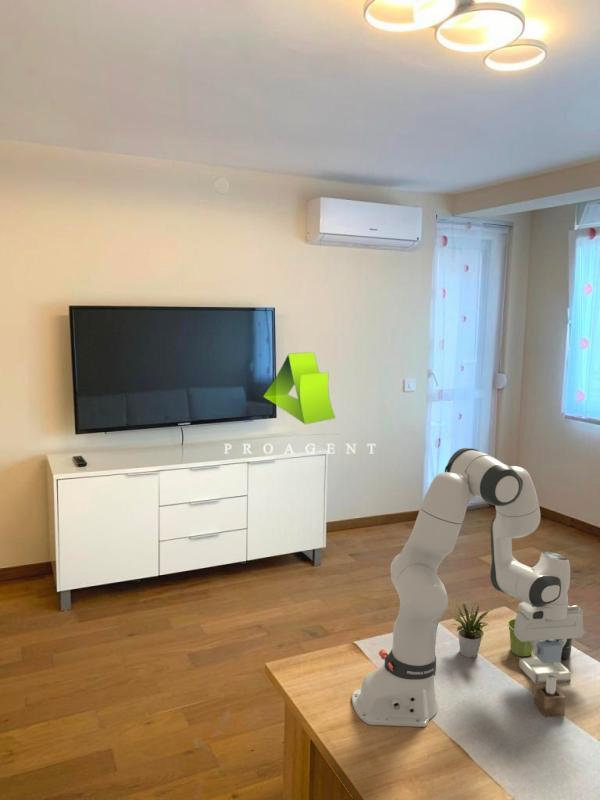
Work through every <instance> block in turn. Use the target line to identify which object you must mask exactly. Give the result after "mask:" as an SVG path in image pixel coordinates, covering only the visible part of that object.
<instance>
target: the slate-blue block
mask: <svg viewBox="0 0 600 800" xmlns="http://www.w3.org/2000/svg"><path fill="white" fill-rule="evenodd" d="M536 646H538V647H539V648H540V654H534V653H533V652H532V655H534V657H537V658H538V659H539V660H540V661H541V662H542V663H554V662H560V663H561V662H562V661H561V653H562V645H561V644H560V643H559V642H557V641H556V640H542V641H538V644H536Z"/></svg>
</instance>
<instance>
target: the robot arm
mask: <svg viewBox="0 0 600 800" xmlns="http://www.w3.org/2000/svg"><path fill="white" fill-rule="evenodd" d="M474 498H477V499H480V500H482V501H484V502H486V503H487V504H489V505H493V506H495V515H494V516H493V518H492V520H491V523H490V532H489V533H490V534H489V535H490V551H491V567H490V573H489V578H490V581H491V585H492V587H493V588H494V589H495V590H497V591H498V592H501V593H504V594H507V595H509V596H511V597H514V598H515V599H516V600H519V601H521V602H520V603H518V605H517V609H518V611H519V612H518V613H516V616H515V618H514V619H515V625H514V635H515V636H516V637H517V639H519V640H520V641H521V642H529V641H530V643H531V644H532V646H533V648H532V654H533V653H534V654H540V648H539V647H538V646H536V644H538V641H542V640H556V639H559V641H558V642H559V643H560V644H561V645H562V647H563V646H564V645H565V643H566V642H567V639H569V638H572V639H579V638H582V636H583V635H584V621H583V620H584V619H583V618H584V610H583V608H582V607H580V606H579V605H569V597H568V592H569V589H570V586H571V585H570V583H571V565H570V560H569V559H568V558H567V556H564V555H562V554H560V553H557V552H553V551H542V552H541V554H540V556H539V560H538V562H537V563H536V564H535V565H534V566H532V567H531V566H529V565H526V564H524V563H522V562H520V561H519V560H517V559H516V558H515V557H514V555H513V541H512V539H520V538H525V537H527V536H529V535H530V534H533V533H534V532H535V531H536V530H537V529H538V527H539V526H540V523H541V517H542V516H541V510H540V509H541V508H540V503H539V500H538V494H537V491H536V487H535V484H534V482H533V480H532V477H531V475H530V473H529V472H528V470H526V469H525V468H523V467H521V466H517V465H508V464H505V463H504V462H502V461H501V460H498V459H497V458H496V457H494V456H493V455H490V454H488V453H485V452H482V451H480V450H478V449H476V448H471V447H463V448H460V449H457V450H456V451H455V452H454V453H453V454H452V456H451V457H450V458H449V459H448V462H447V465H446V466H445V468H444V472H440V473H437V474H436V475H435V477H434V478H433V480H432V482H431V483H430V485H429V487H428V489H427V490H426V492H425V495H424V497H423V500H422V502H421V505H420V508H419V511H418V514H417V516H416V520H415V522H414V525H413V528H412V531H411V533H410V536H409V537H408V539H407V542H406V543H405V545H404V546H403V548H402V550H401V552H400V553H398V554H397V555H395V557H394V558H393V559H392V561H391V563H390V580H391V583H392V584H393V586H394V588H395V590H396V592H397V594H398V597H399V610H398V615H397V618H396V620H394V623H393V630H392V648H391V650H390V652H389V653H387V651H386V649H380V650H379V652H378V655H379V656H380V659H381V660H384V663H383V664H381V665H380V666H379V667H378V668H375V669H374V670H373V671H371V672H369V673H368V674H366V675H365V676H364V677H363V680H362V684H361V687H360V688H358V689H355V690H353V692H352V695H351V702H352V706H353V709H354V711H355V714H357V716H358V717H359V718H360V720H361V721H362V722H364V723H365V724H367V725H370V726H371V725H372V726H388V727H389V726H394V727H415V728H416V727H417V728H418V727H420V728H422V727H423V728H424V727H426V726H428V723H429V721H430V719H432V718H433V717H434V716H435V715H436V714H437V713H438V709H439V705H438V702H437V701H438V700H437V698H436V690H435V687H436V686H435V676H436V672H437V657H436V656H437V655H436V645H437V630H438V627H439V623H440V620H441V617H443V616H444V615H445V613H446V611H447V610H448V605H449V597H448V593H447V590H446V587H445V585H444V583H443V582H442V579H440V577H439V576H438V569H439V567H440V564H441V563H442V562H443V560H444V558H445V557H446V556H447V555H449V554H451V553H452V552H453V551H454V548H455V546H456V543H457V540H458V537H459V534H460V531H461V529H462V525H463V522H464V520H465V515H466V514H467V513H466V512H467V509H468V506H469V504H470V503H471V501H472V500H473V499H474ZM534 654H533V655H534Z"/></svg>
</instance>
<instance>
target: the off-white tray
mask: <svg viewBox="0 0 600 800" xmlns="http://www.w3.org/2000/svg"><path fill="white" fill-rule="evenodd" d="M518 660H519V662H518V667H519V668H520V669H521V671H523V672H524V674H526V675H527V676H528V678H529V679H530V680H531V681H532V682H534V684H546V680H547V676H548V675H552V676H554V677H556V683H560V682H570V681H571V679H572V672H571V671H570V670H569V669H568V668H567V667H566V666H565V665H564V664H562V663H561V662H554V663H542V662H541V661H540V660H539V659H538V658H537V657H536V656H534V657H523V658H521V657H520V658H519V659H518Z"/></svg>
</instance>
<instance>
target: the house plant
mask: <svg viewBox="0 0 600 800" xmlns="http://www.w3.org/2000/svg"><path fill="white" fill-rule="evenodd" d="M449 601H450V602H452V603H453V604H454V605H455V607H456V608H457V610H458V611H457V610H455V611H450V613H453V614H455V613H456V616H454V617H453V620H455V621H456V622H459V624H461V625H458V626H457V624H455V623H453V625H455V626H457V627H456V632H457V633H458V643H459V653H460V652H461V653H460V654H461V655H462V654H463V655H462V656H464V655H465V656H464V657H466V656H468V657H467V658H476V657H478V654H479V650H480V645H481V642H482V639H483V636H484V635H485V633H484V631H483V630H482V629H483V628H484V627H487V626H488V625H489V623H487V622H484V621H483V622H482V621H481V620H482V619H488V616H487V615H488V613H490V612H492V611H493V610H494V608H491V609H488V610H485V611H484V612H483V613H482V614H481V615H480V616H478V614H479V611H480V608H479V607H480V604H479V603H478V605H477V606H476V609H475V611H474V612H473V610H474V607H475V605H476V604H477V602H475V603H474V604H473V606H472V609H471V612H470V614H469V611H468V609H467V605H466V604H465V602H464V601H463V600H461V601H460V603H461V605H462V607H463V611H464V613H465V617H466V618H465V617H464V614H463V612H462V610H461V609H460V607H459V605H458V604H457V603H456V602H455V601H453V600H450V599H449ZM477 616H478V618H477ZM485 616H486V617H485ZM462 619H463V620H462ZM476 619H477V620H476ZM475 656H476V657H475Z"/></svg>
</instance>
